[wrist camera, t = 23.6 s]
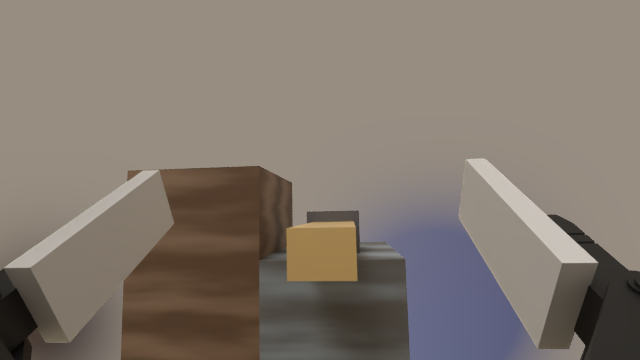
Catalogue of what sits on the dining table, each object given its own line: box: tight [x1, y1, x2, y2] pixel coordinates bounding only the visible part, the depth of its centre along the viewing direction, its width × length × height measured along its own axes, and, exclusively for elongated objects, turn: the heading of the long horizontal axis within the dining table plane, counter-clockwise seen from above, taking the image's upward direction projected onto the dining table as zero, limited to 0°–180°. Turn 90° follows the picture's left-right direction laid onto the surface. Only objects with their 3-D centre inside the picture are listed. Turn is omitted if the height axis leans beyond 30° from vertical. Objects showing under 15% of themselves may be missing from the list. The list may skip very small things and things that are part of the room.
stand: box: [121, 166, 410, 360], centre depth 35 cm, size 16×24×33 cm, turn 85°
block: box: [286, 211, 360, 281], centre depth 28 cm, size 18×5×4 cm, turn 175°
